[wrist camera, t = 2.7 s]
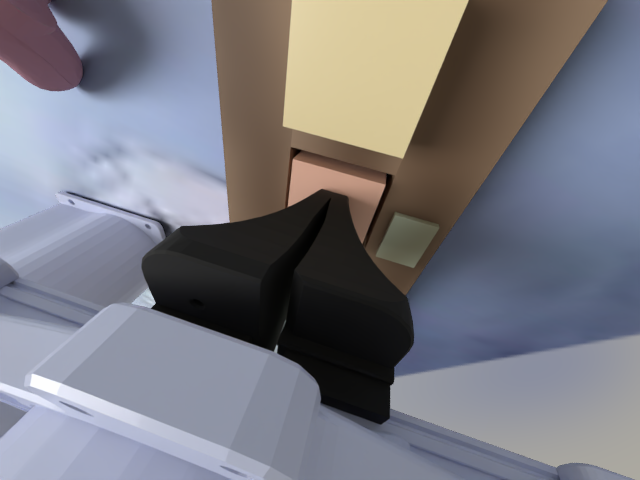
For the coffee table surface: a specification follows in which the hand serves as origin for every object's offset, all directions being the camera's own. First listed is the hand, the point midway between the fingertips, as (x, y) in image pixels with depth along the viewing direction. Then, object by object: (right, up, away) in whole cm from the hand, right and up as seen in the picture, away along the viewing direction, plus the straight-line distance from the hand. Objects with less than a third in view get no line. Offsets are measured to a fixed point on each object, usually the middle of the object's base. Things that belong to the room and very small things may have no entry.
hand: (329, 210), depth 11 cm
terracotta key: (+1, +2, +2) cm, 3 cm away
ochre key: (+1, +5, -3) cm, 6 cm away
